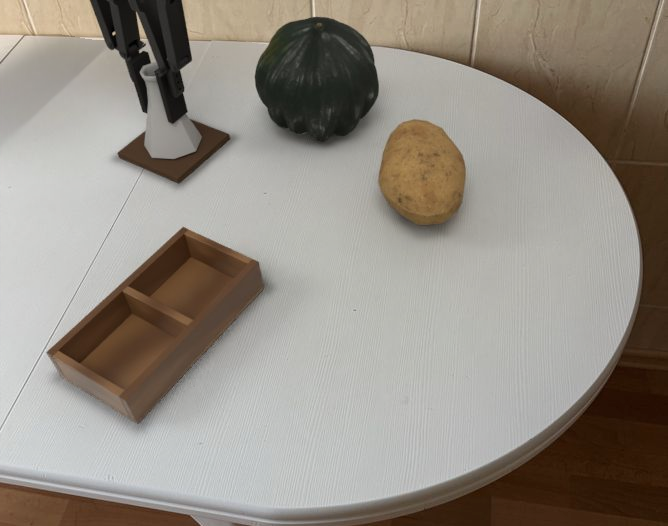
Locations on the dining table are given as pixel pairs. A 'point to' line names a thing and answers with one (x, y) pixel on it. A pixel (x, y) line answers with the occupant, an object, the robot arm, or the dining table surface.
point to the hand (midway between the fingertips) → (165, 111)
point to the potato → (422, 173)
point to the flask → (165, 124)
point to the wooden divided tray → (157, 323)
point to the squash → (317, 77)
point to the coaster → (180, 165)
